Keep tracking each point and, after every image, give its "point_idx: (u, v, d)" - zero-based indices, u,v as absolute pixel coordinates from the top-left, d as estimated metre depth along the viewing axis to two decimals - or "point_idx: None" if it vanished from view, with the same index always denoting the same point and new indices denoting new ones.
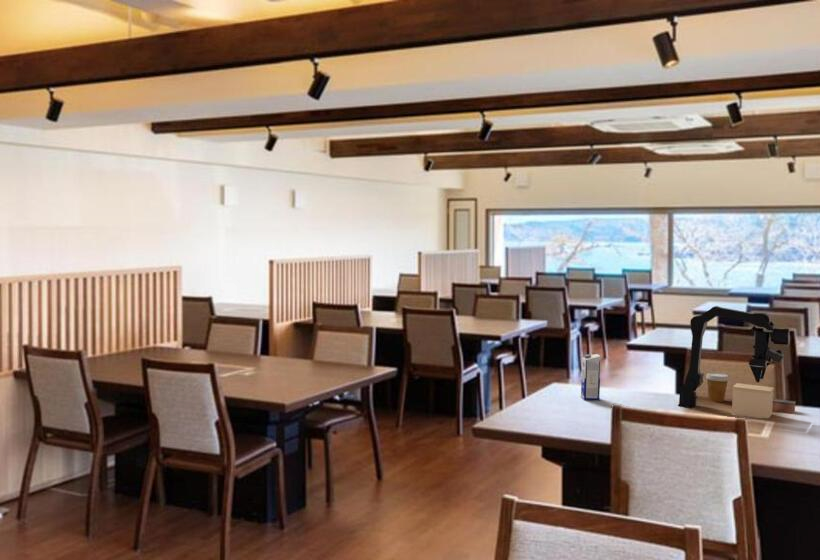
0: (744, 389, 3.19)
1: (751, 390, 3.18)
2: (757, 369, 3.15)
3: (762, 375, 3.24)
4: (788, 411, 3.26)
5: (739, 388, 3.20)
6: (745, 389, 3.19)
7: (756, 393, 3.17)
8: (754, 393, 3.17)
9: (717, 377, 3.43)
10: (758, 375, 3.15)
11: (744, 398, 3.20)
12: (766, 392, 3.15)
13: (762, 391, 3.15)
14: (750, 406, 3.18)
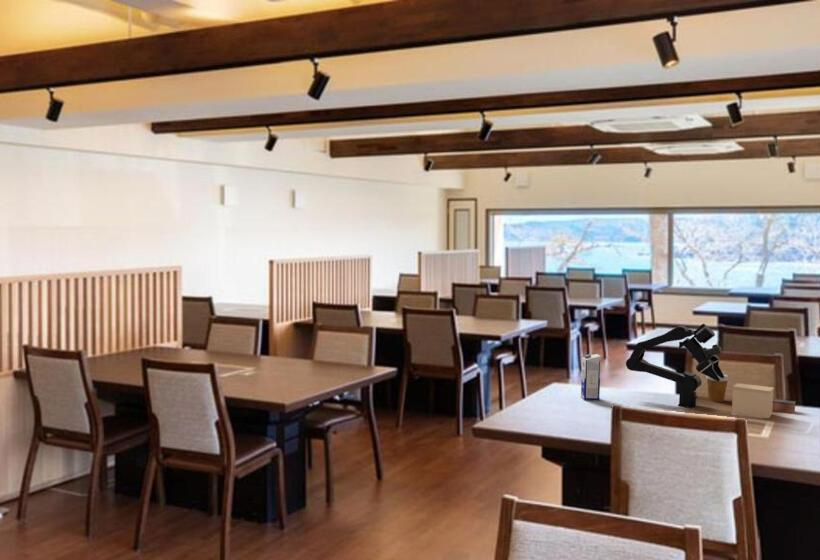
0: (744, 389, 3.19)
1: (751, 390, 3.18)
2: (709, 371, 3.26)
3: (721, 374, 3.32)
4: (788, 411, 3.26)
5: (739, 388, 3.20)
6: (745, 389, 3.19)
7: (756, 393, 3.17)
8: (754, 393, 3.17)
9: None
10: (714, 375, 3.25)
11: (744, 398, 3.20)
12: (766, 392, 3.15)
13: (762, 391, 3.15)
14: (750, 406, 3.18)
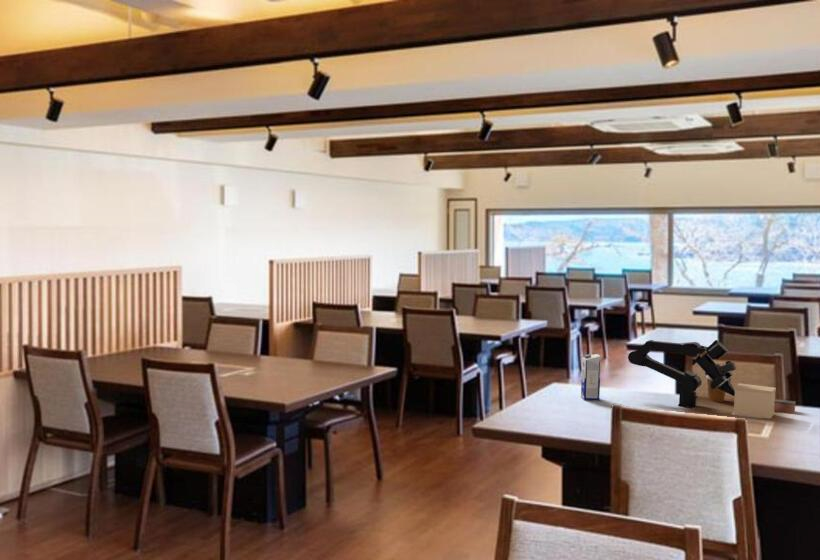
0: (746, 389, 3.19)
1: (753, 390, 3.17)
2: (725, 386, 3.26)
3: None
4: (788, 411, 3.26)
5: (741, 388, 3.20)
6: (747, 389, 3.19)
7: (758, 394, 3.16)
8: (756, 393, 3.17)
9: None
10: (730, 390, 3.25)
11: (746, 398, 3.19)
12: (768, 392, 3.14)
13: (764, 391, 3.15)
14: (752, 406, 3.18)
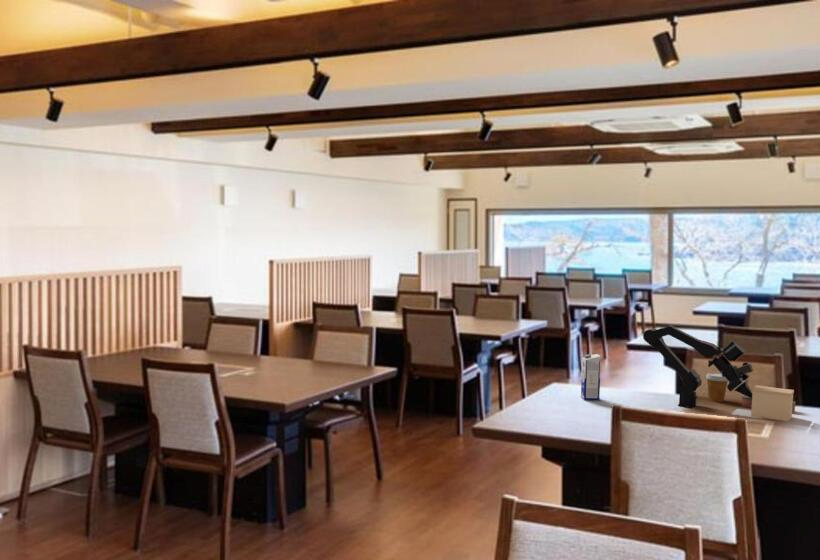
0: (764, 391, 3.15)
1: (771, 392, 3.14)
2: (742, 388, 3.23)
3: None
4: None
5: (759, 390, 3.16)
6: (765, 391, 3.15)
7: (777, 396, 3.13)
8: (774, 395, 3.13)
9: (717, 377, 3.43)
10: (747, 392, 3.22)
11: (763, 400, 3.15)
12: (786, 395, 3.11)
13: (782, 394, 3.11)
14: (770, 409, 3.14)
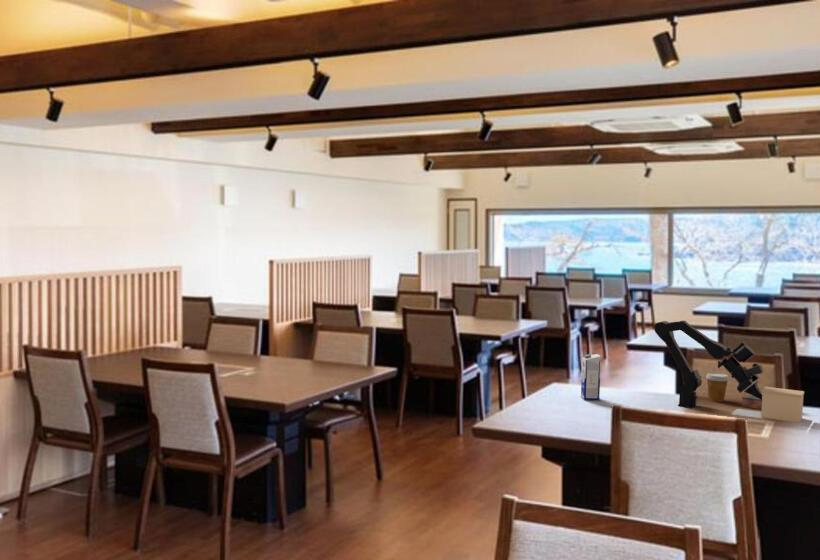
0: (774, 393, 3.13)
1: (781, 394, 3.12)
2: (752, 389, 3.21)
3: None
4: None
5: (769, 392, 3.14)
6: (775, 393, 3.13)
7: (787, 397, 3.11)
8: (784, 396, 3.11)
9: (717, 377, 3.43)
10: (757, 393, 3.20)
11: (774, 402, 3.13)
12: (797, 396, 3.09)
13: (793, 395, 3.09)
14: (780, 410, 3.12)
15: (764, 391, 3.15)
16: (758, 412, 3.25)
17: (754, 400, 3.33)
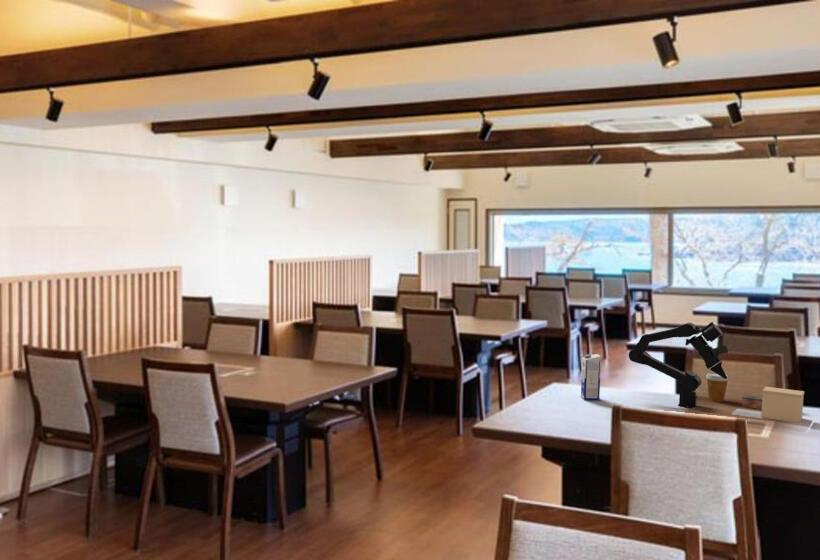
0: (774, 393, 3.13)
1: (781, 394, 3.12)
2: (717, 368, 3.28)
3: None
4: None
5: (769, 392, 3.14)
6: (775, 393, 3.13)
7: (787, 397, 3.11)
8: (784, 396, 3.11)
9: (717, 377, 3.43)
10: (722, 372, 3.27)
11: (774, 402, 3.13)
12: (797, 396, 3.08)
13: (793, 395, 3.09)
14: (780, 410, 3.12)
15: (764, 391, 3.15)
16: (758, 412, 3.25)
17: (754, 400, 3.33)
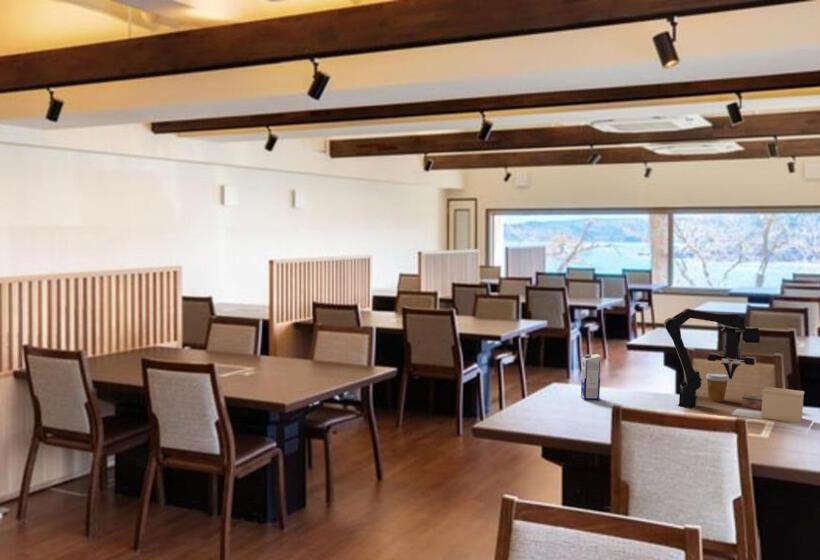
0: (774, 393, 3.13)
1: (781, 394, 3.12)
2: None
3: None
4: None
5: (769, 392, 3.14)
6: (775, 393, 3.13)
7: (787, 397, 3.11)
8: (784, 396, 3.11)
9: (717, 377, 3.43)
10: (734, 372, 3.31)
11: (774, 402, 3.13)
12: (797, 396, 3.08)
13: (793, 395, 3.09)
14: (780, 410, 3.12)
15: (764, 391, 3.15)
16: (758, 412, 3.25)
17: (754, 400, 3.33)
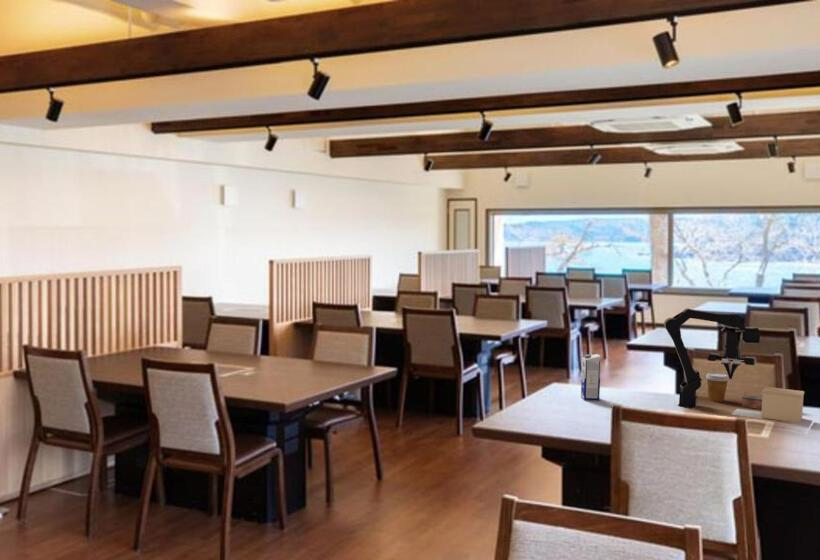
0: (774, 393, 3.13)
1: (781, 394, 3.12)
2: None
3: None
4: None
5: (769, 392, 3.14)
6: (775, 393, 3.13)
7: (787, 397, 3.11)
8: (784, 396, 3.11)
9: (717, 377, 3.43)
10: (734, 372, 3.31)
11: (774, 402, 3.13)
12: (797, 396, 3.08)
13: (793, 395, 3.09)
14: (780, 410, 3.12)
15: (764, 391, 3.15)
16: (758, 412, 3.25)
17: (754, 400, 3.33)
